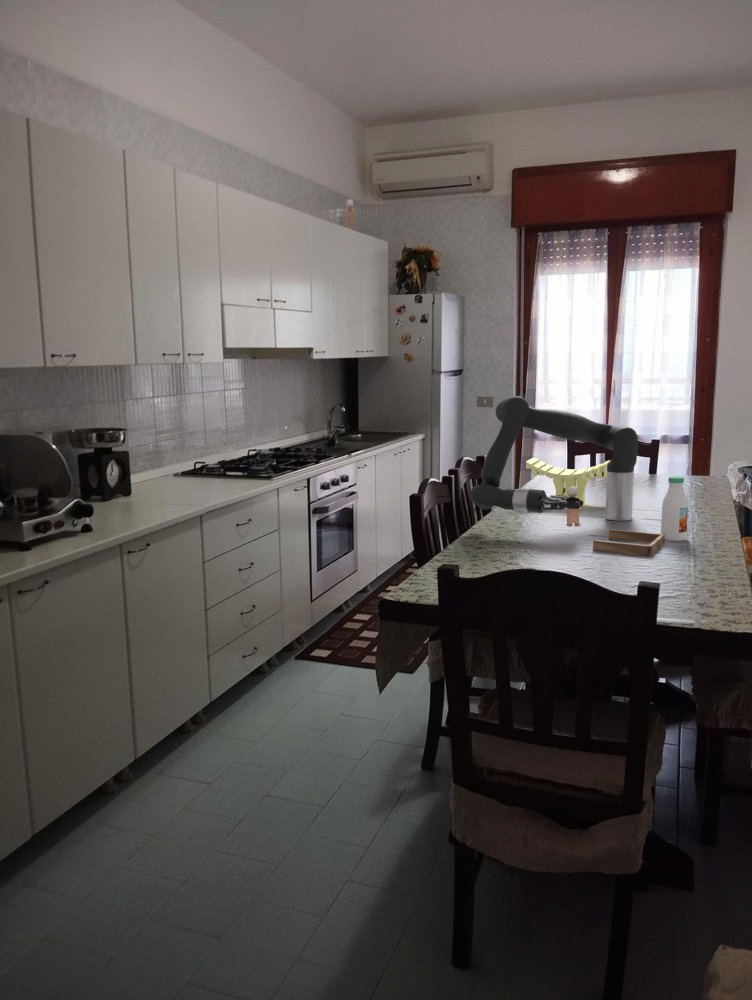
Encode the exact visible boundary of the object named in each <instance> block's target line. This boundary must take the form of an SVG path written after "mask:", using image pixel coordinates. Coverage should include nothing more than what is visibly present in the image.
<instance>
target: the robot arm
mask: <svg viewBox="0 0 752 1000" xmlns="http://www.w3.org/2000/svg"><path fill="white" fill-rule="evenodd" d="M495 416H496V418H497V420H498V421H499V422H500V423H501V427H500V430H499V431H498V432H499V433H498V434H497V436H496V439H495V440H494V441H493V442H492V445H491V447H490V448H489V450H488V452H487V454H486V457H485V458H484V459H485V460H484V463H483V465H482V468H481V471H480V476H481V480H482V481H481V484H477V485H475V486H473V487H472V488H471V489H470V491H469V498H470V501H471V502H472V503H473V504H475V505H476V506H477V507H479V508H480V509H482V510H490V509H491V508H493V507H498V508H499V509H502V510H503V509H504V510H509V511H519V512H526V513H534V514H535V513H537V514H542V513H544V511H553V510H554V511H557V510H558V511H563V510H567V508H570V509H579V508H580V502H573V501H568V502H567V501H566V500H565V499H567V498H571V497H566V496H561V495H557V496H555V495H556V494H553V495H552V494H551V495H549V496H548V495H547V493H546V491H545V490H544V489H534V488H533V489H532V488H508V487H507V488H506V487H501V478H502V476H503V473H504V470H505V467H506V464H507V461H508V459H509V455H510V453H511V451H512V448H513V445H514V443H515V441H516V439H517V437H518V435H519V434H520V433H519V432H520V431H521V430H522V428H525V429H526V428H527V429H531V430H533V431H538V432H540V433H544V434H547V435H550V436H553V437H557V438H560V439H561V438H562V439H565V440H568V441H569V440H570V441H575V442H585V443H586V442H587V443H592V444H595V445H598V446H601V447H603V448H605V449H607V450H611V451H612V456H611V457H612V458H611V459H610V462H609V463H608V464H607V479H606V483H605V484H606V485H605V486H606V487H605V488H606V490H605V492H606V493H605V515H604V516H605V519H606V520H610V521H620V522H623V521H630V520H632V519H633V508H634V507H633V505H634V500H633V499H634V479H635V478H634V476H635V475H634V473H635V466H636V463H637V460H638V448H639V447H638V445H639V439H638V438H639V437H638V434H637V432H636V430H635V429H634V428H631V427H628V426H623V425H616V424H615V425H613V424H605V423H602V422H601V423H600V422H596V421H593V420H591V419H589V418H588V417H585V416H582V415H580V414H577V413H573V412H569V411H566V410H561V409H551V408H549V409H548V408H546V409H545V408H535V407H531V406H529V403H528V401H527V400H526V399H525V398H524V397H522V396H518V395H516V396H512V397H508V398H505V399H503V400H501V401H500V402H499V403H498V404H497V406H496V408H495ZM564 500H565V501H564ZM581 502H582V503H583V500H581ZM579 510H580V509H579Z"/></svg>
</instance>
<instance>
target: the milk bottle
mask: <svg viewBox="0 0 752 1000" xmlns="http://www.w3.org/2000/svg"><path fill="white" fill-rule="evenodd" d="M667 480H668V488H667V491H666V493H665V495H664V497H663V500H662V505H661V506H662V507H661V521H660V525H661V526H660V534H665V541H668V542H682V541H686V540H687V536H688V534H687V533H688V532H687V531H688V514H689V513H688V511H689V508H688V507H689V502H688V499H687V495H686V493H685V491H684V482H685V478H684V476H678V475H677V476H674V475H673V476H669V477H668V479H667Z"/></svg>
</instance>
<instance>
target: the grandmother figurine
mask: <svg viewBox="0 0 752 1000" xmlns="http://www.w3.org/2000/svg"><path fill="white" fill-rule="evenodd" d="M577 492H578V490H577V486H576V487H573V486H572V487H570V488H569V489H568V490H567V494H568V495H569V496H570V497H571V498H567V499H565V500H566V501H567V502H568V501H573V502H580V507H581V508H582V509H581V511H585V510H586V508H585V506H584V505H583V503H582V502H581V500H580V499H578V498H575V497H576V495H577ZM565 500H564V501H565ZM579 510H580V509H570V508H567V509H566V525H565V526H567V527H570V528H571V527H573V526H574V527H581V525H582V524H581V523H580V511H579ZM573 524H574V525H573Z"/></svg>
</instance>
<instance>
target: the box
mask: <svg viewBox="0 0 752 1000" xmlns="http://www.w3.org/2000/svg"><path fill="white" fill-rule="evenodd" d="M608 539H609V540H616V541H608V540H607V541H606V540H597V539H593V540H592V551H597V552H598V551H599V552H607V553H615V554H616V553H617V554H623V555H624V554H625V555H634V556H643V557H652V555H654V554H655V553H656V552H657V551H658V550H660V549H661V548H662V547H663V546H664V545H665V541H666V540H665V534H661V533H655V532H643V531H633V530H632V531H631V530H621V529H608ZM617 540H619V541H625V542H617ZM626 542H627V543H626ZM628 542H637V543H646V544H647V543H648V544H647V545H646V544H637V543H628Z"/></svg>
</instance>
